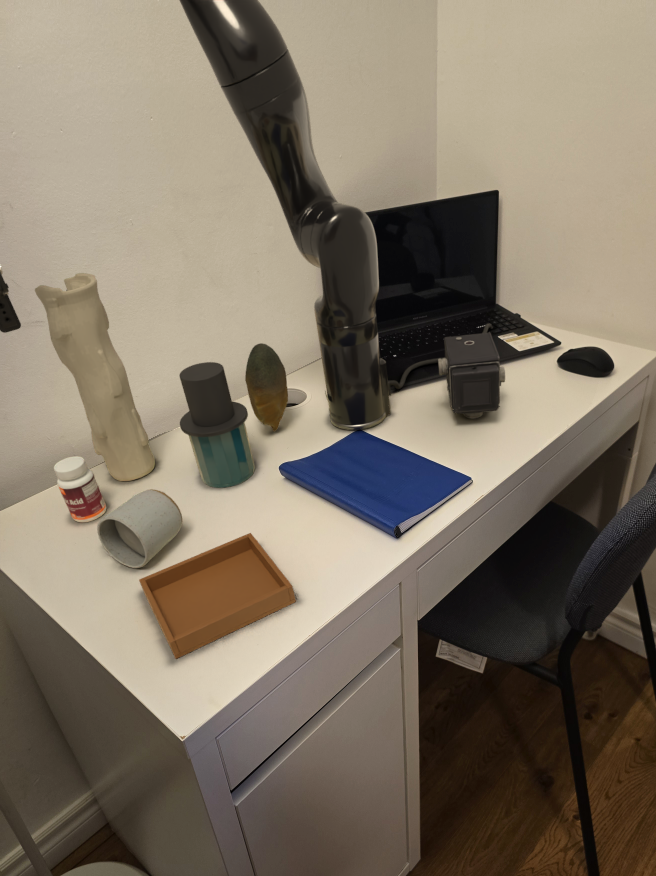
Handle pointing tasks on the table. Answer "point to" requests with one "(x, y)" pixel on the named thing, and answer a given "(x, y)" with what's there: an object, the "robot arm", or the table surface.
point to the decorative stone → (266, 385)
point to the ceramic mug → (140, 527)
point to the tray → (216, 593)
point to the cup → (224, 458)
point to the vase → (97, 375)
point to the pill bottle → (79, 489)
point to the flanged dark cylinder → (209, 402)
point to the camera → (472, 374)
